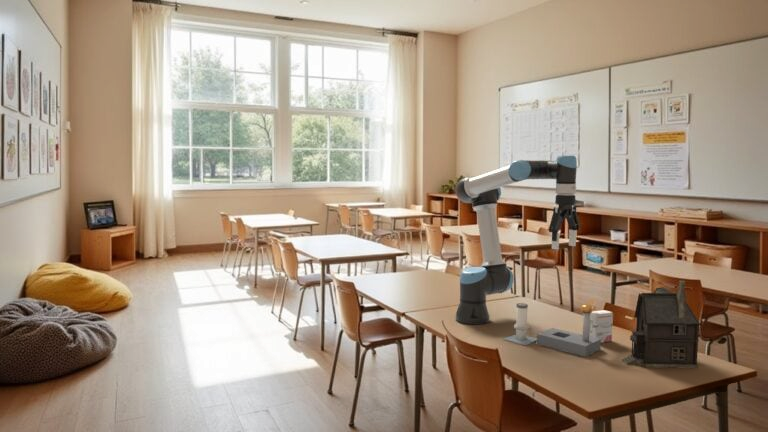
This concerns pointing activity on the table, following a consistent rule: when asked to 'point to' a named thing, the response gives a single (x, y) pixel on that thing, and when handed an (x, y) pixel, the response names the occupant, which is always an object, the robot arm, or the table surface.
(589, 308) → the wooden lever
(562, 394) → the table surface
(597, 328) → the ink box
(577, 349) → the socket
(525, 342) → the mat
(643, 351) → the model house
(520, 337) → the plug
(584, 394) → the table surface
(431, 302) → the table surface
